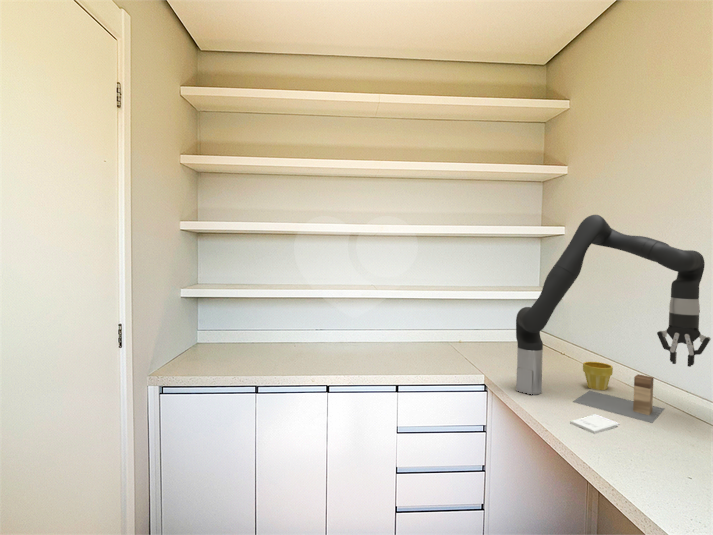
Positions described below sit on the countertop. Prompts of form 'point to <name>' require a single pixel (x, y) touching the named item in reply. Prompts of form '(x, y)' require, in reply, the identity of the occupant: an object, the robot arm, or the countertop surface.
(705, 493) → the countertop surface
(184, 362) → the countertop surface
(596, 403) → the mat
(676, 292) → the robot arm
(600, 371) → the plant pot
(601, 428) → the external hard drive
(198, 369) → the countertop surface
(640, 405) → the block
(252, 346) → the countertop surface
